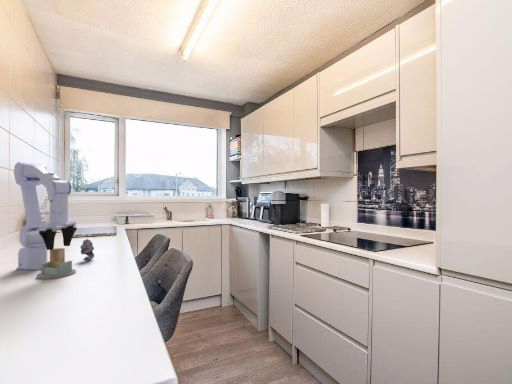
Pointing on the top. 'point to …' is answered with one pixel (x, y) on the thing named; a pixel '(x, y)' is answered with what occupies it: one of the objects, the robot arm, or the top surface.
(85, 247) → the grey lumpy tree figurine
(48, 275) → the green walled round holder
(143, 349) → the top surface
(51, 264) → the tan wooden block
